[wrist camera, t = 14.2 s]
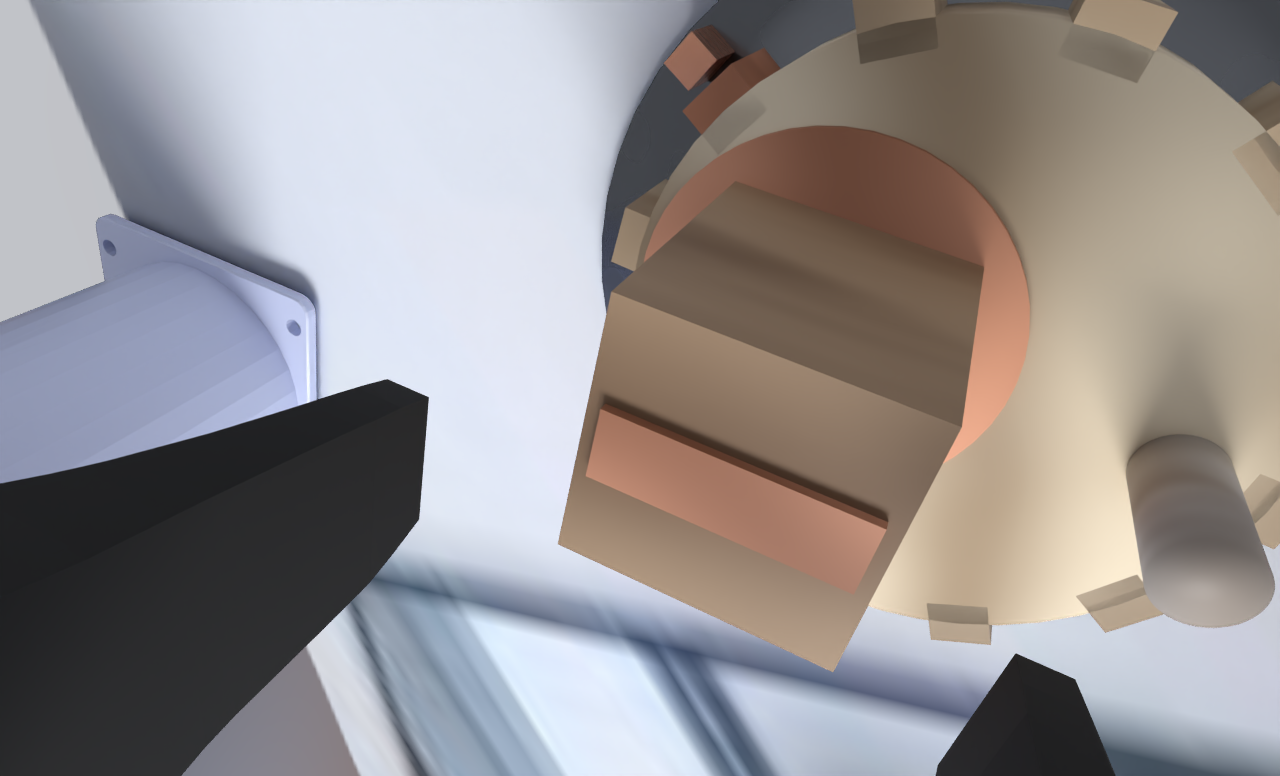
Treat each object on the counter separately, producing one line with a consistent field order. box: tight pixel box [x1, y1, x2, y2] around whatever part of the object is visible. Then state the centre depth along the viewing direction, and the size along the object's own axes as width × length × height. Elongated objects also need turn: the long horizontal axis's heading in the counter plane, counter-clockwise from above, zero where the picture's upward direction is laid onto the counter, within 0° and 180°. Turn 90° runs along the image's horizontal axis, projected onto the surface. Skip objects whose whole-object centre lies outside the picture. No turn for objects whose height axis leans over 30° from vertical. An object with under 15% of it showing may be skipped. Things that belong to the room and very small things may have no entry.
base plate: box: [602, 0, 1280, 313], centre depth 17 cm, size 16×16×2 cm
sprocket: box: [611, 0, 1280, 645], centre depth 15 cm, size 13×13×5 cm
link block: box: [558, 181, 984, 672], centre depth 14 cm, size 4×4×6 cm
